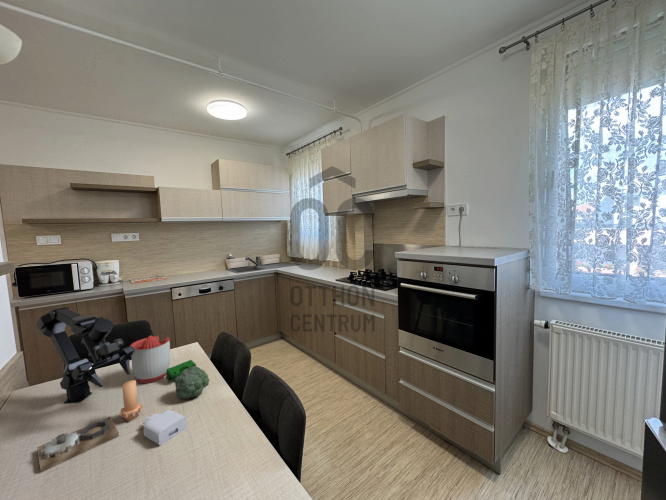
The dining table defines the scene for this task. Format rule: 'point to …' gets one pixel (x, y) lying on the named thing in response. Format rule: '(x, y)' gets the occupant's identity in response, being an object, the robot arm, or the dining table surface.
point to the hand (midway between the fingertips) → (116, 380)
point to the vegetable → (191, 382)
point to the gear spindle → (130, 401)
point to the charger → (164, 426)
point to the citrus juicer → (150, 359)
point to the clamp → (178, 370)
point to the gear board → (75, 443)
